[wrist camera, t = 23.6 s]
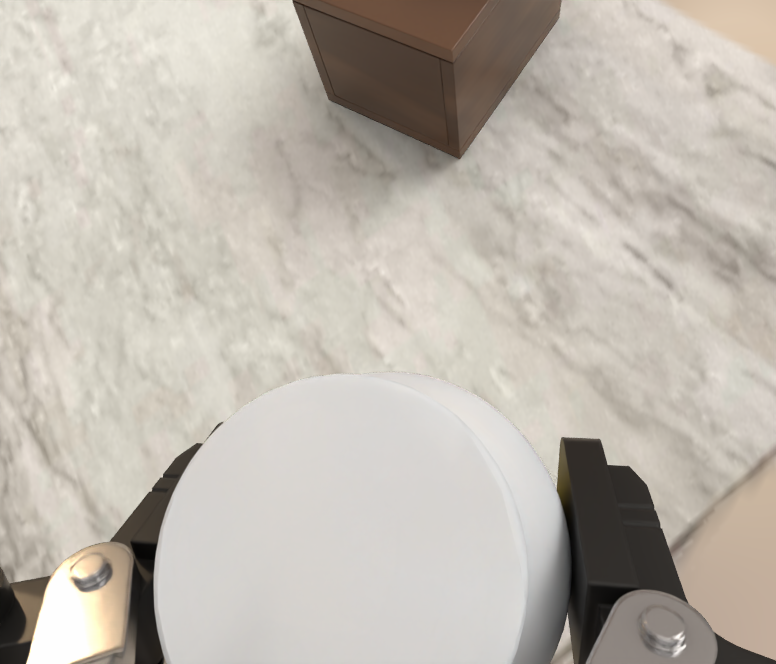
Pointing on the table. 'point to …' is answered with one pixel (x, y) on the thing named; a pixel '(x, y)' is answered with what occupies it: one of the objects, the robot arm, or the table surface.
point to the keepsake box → (427, 71)
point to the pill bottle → (364, 532)
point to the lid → (414, 20)
